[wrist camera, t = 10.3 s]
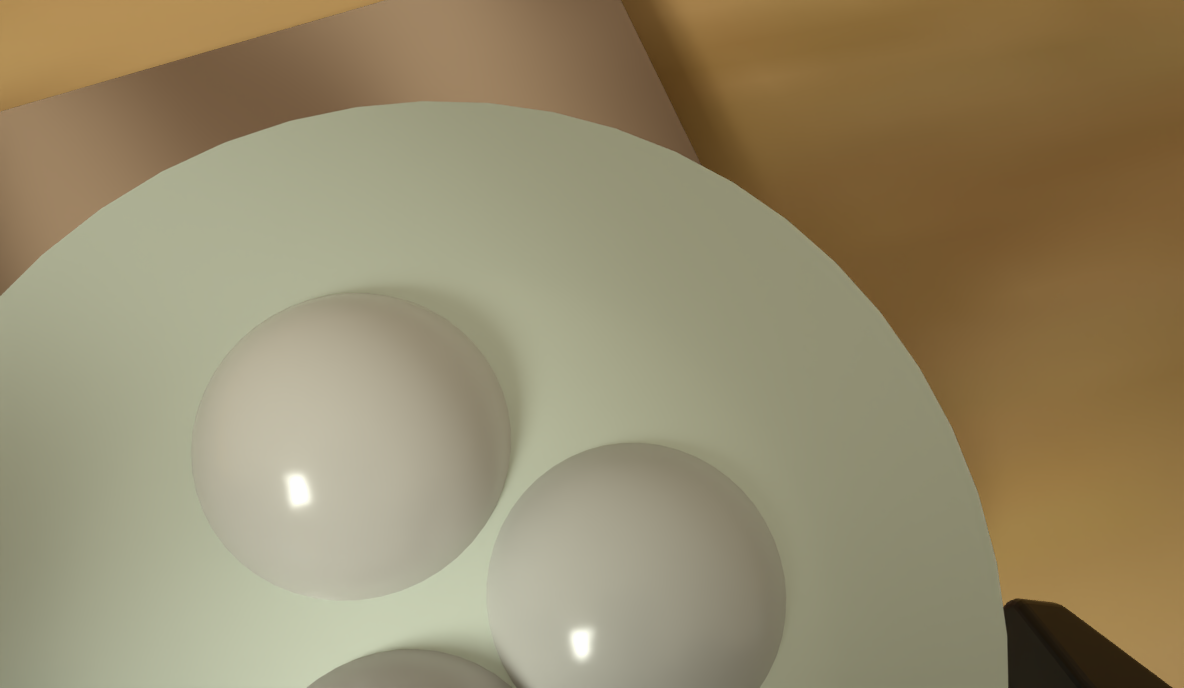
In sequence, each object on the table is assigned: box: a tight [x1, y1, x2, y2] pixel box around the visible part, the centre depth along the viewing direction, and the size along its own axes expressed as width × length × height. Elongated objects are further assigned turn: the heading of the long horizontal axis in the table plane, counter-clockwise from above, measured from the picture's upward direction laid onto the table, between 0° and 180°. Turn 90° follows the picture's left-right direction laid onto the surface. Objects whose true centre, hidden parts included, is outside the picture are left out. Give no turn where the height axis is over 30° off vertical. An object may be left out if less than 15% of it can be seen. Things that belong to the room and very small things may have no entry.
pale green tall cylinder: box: [0, 101, 1008, 688], centre depth 11 cm, size 6×6×12 cm
